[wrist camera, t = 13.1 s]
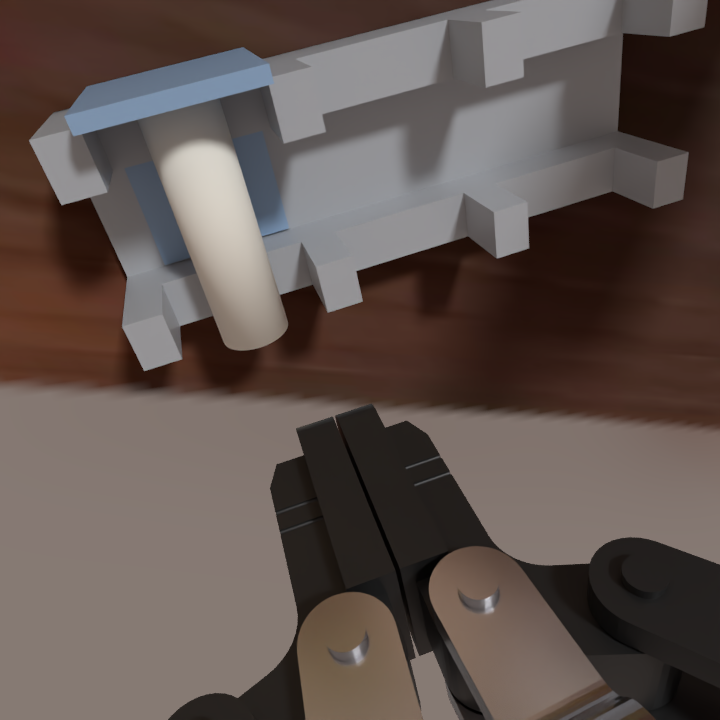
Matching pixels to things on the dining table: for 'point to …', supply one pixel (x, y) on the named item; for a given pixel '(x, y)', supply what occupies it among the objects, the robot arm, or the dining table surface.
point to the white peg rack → (374, 146)
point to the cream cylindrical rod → (217, 221)
